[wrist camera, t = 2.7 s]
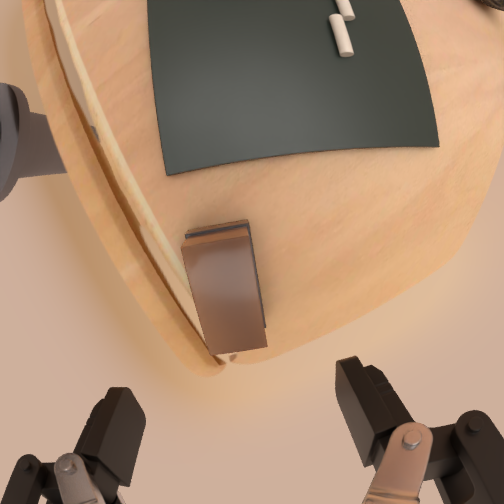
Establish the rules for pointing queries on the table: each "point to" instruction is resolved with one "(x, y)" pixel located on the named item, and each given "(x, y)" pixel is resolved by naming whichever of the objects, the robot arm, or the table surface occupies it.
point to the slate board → (283, 80)
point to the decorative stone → (494, 4)
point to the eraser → (225, 286)
